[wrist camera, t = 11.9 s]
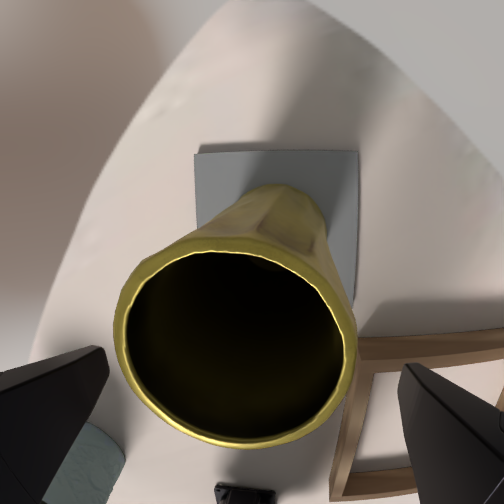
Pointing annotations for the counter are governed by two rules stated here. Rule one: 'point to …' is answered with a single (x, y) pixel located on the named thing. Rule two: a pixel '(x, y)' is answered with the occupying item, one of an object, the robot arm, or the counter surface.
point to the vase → (241, 325)
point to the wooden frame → (367, 363)
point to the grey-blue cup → (87, 470)
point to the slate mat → (293, 174)
